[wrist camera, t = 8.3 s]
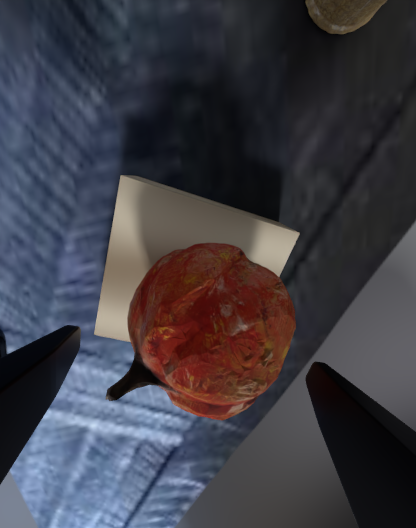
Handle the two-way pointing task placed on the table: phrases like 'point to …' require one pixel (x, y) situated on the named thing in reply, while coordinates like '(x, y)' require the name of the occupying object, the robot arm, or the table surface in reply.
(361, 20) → the sprinkles bottle
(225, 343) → the red oval lump
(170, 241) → the pale wooden block
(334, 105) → the table surface
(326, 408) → the robot arm
